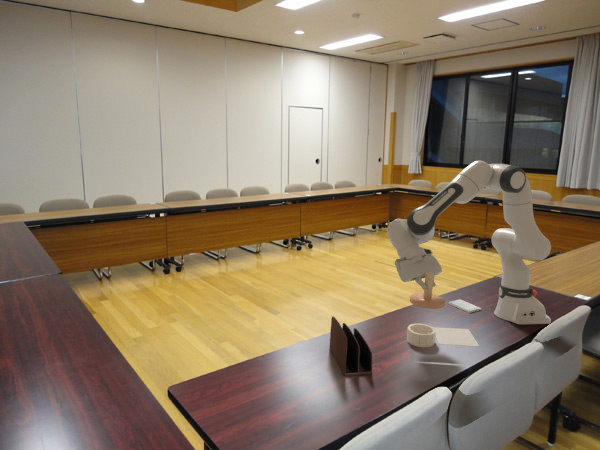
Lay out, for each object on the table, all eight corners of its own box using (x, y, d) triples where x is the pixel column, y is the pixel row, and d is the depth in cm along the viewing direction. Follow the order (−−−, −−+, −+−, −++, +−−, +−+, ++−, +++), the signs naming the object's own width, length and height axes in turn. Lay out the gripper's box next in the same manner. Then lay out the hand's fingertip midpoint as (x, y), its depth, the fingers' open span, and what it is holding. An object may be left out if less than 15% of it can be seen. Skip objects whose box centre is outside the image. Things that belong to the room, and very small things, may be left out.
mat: (468, 330, 174) (468, 329, 174) (479, 347, 159) (479, 346, 159) (431, 328, 175) (431, 327, 175) (438, 345, 161) (438, 343, 161)
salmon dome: (441, 297, 166) (443, 267, 164) (448, 309, 153) (451, 278, 151) (407, 295, 167) (409, 265, 165) (412, 307, 155) (414, 275, 152)
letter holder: (343, 377, 139) (344, 337, 136) (329, 348, 158) (330, 313, 155) (372, 374, 140) (374, 335, 138) (354, 346, 159) (356, 311, 157)
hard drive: (448, 301, 202) (469, 310, 192) (460, 299, 206) (481, 307, 195) (448, 305, 203) (469, 314, 192) (460, 302, 206) (481, 311, 196)
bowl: (431, 337, 167) (432, 324, 166) (436, 349, 157) (437, 335, 156) (405, 335, 169) (406, 322, 168) (408, 347, 159) (409, 334, 158)
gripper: (397, 255, 157) (415, 288, 151) (433, 249, 168) (452, 279, 162) (388, 264, 161) (405, 296, 155) (424, 257, 172) (441, 287, 166)
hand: (429, 287), depth 159 cm, fingers closed on salmon dome, 3 cm apart
